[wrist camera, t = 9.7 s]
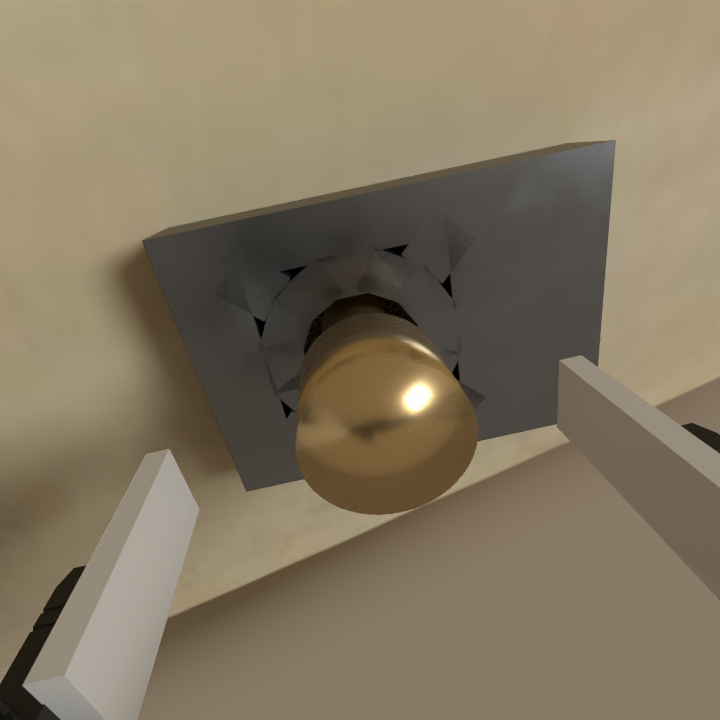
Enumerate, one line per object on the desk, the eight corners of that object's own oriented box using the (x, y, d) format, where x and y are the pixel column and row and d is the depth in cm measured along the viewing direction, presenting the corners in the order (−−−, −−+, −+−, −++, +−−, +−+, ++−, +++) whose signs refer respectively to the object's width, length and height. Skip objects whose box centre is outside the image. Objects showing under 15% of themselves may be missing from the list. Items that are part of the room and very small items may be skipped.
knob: (316, 382, 25) (319, 529, 15) (290, 285, 22) (272, 388, 12) (415, 360, 25) (483, 494, 15) (401, 261, 22) (472, 345, 12)
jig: (254, 452, 26) (246, 491, 23) (168, 228, 20) (142, 240, 17) (560, 385, 27) (593, 416, 24) (569, 142, 20) (615, 140, 17)
